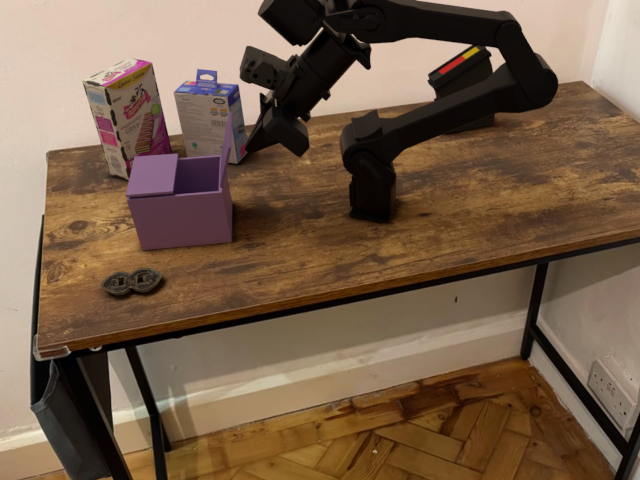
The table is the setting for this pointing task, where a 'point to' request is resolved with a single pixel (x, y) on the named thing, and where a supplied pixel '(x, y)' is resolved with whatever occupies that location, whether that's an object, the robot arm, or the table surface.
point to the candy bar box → (127, 114)
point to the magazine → (463, 78)
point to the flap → (226, 149)
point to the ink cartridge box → (210, 116)
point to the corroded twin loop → (132, 281)
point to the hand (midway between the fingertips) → (247, 150)
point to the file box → (179, 201)
